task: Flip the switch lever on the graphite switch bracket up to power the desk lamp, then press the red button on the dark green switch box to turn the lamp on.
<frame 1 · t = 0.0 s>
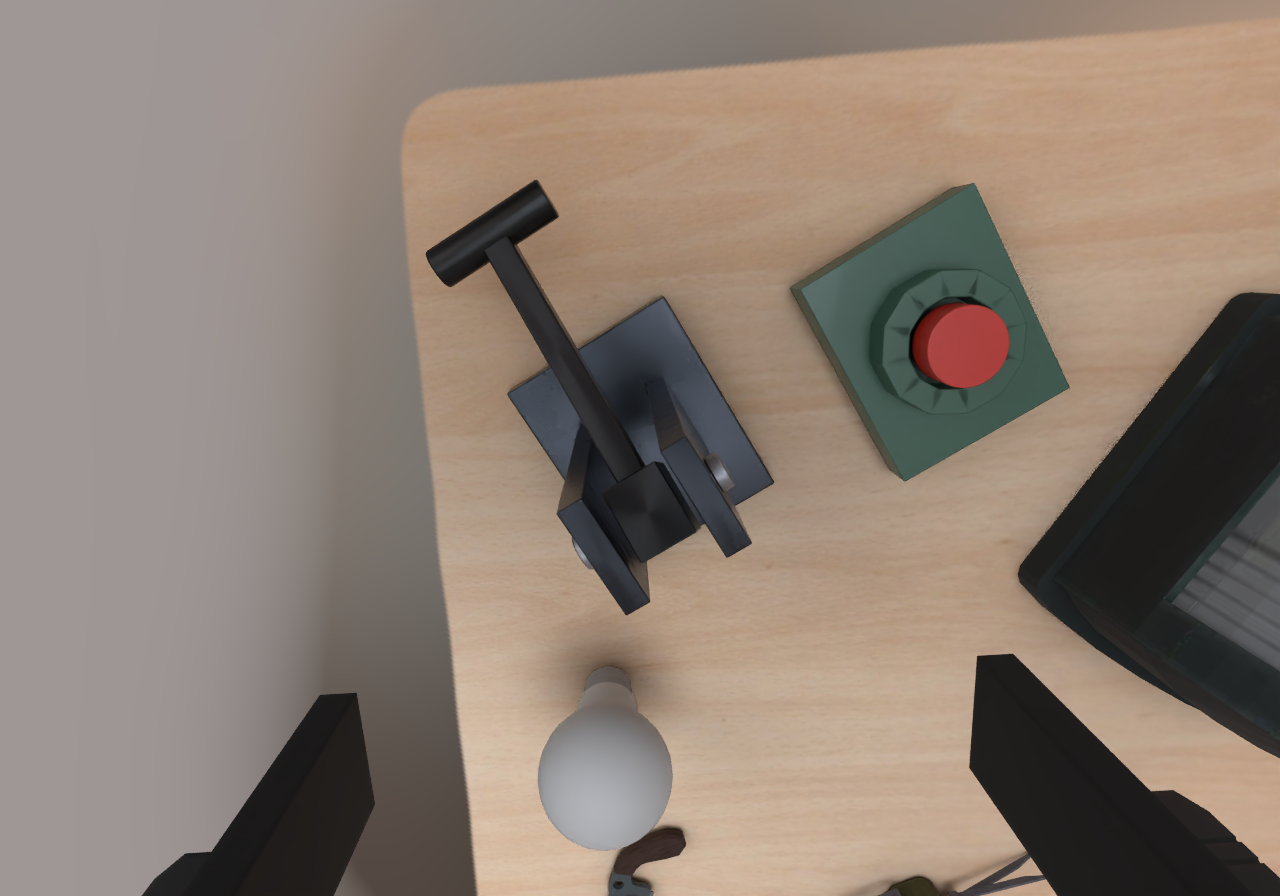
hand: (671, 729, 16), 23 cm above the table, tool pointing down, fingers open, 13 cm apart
switch lever: (574, 376, 27), point 10 cm above the table, hinge at -20.0°
switch bracket: (642, 434, 38), on the table
lightbulb: (608, 676, 41), on the table
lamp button: (959, 345, 33), point 4 cm above the table, slide at 0.1 cm
light fixture: (1235, 516, 40), on the table
button box: (919, 335, 37), on the table
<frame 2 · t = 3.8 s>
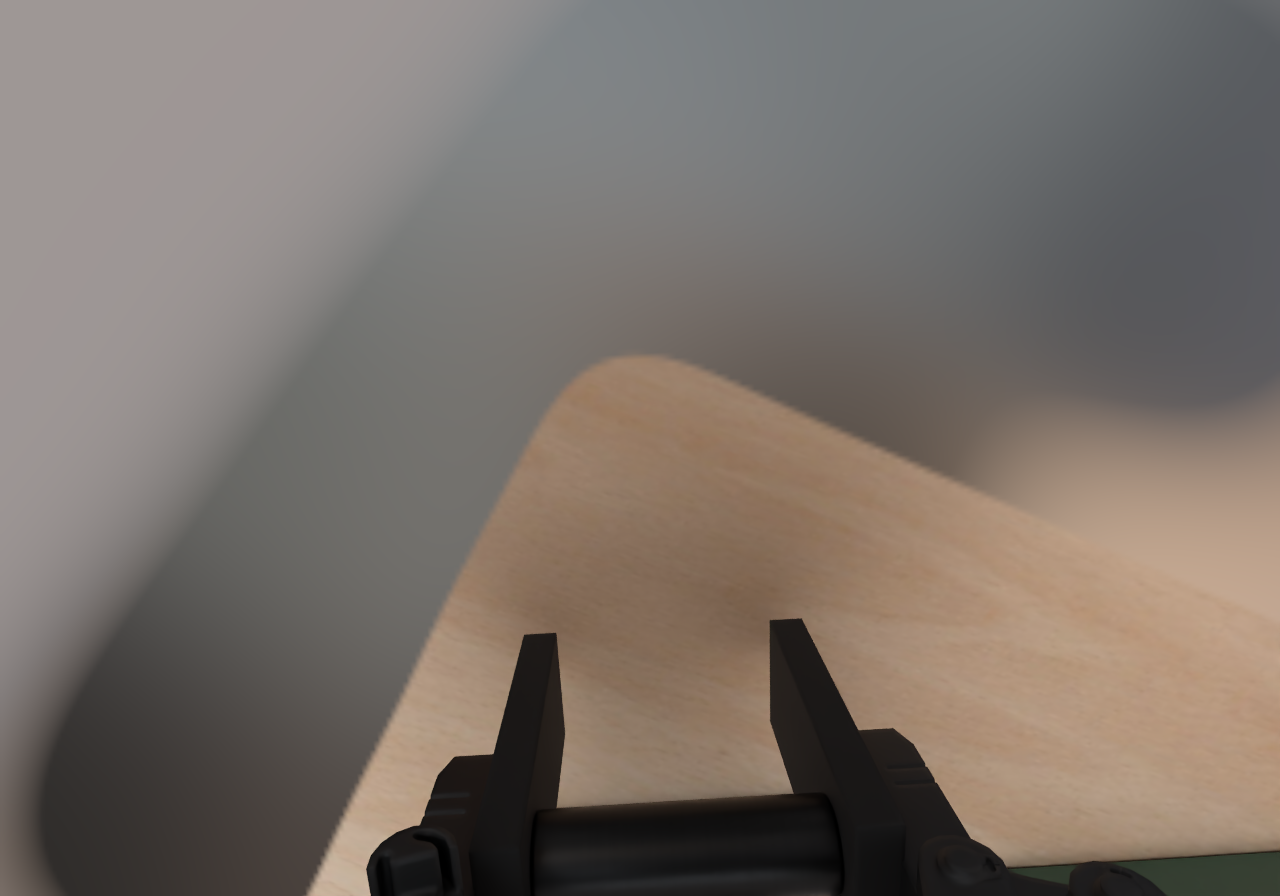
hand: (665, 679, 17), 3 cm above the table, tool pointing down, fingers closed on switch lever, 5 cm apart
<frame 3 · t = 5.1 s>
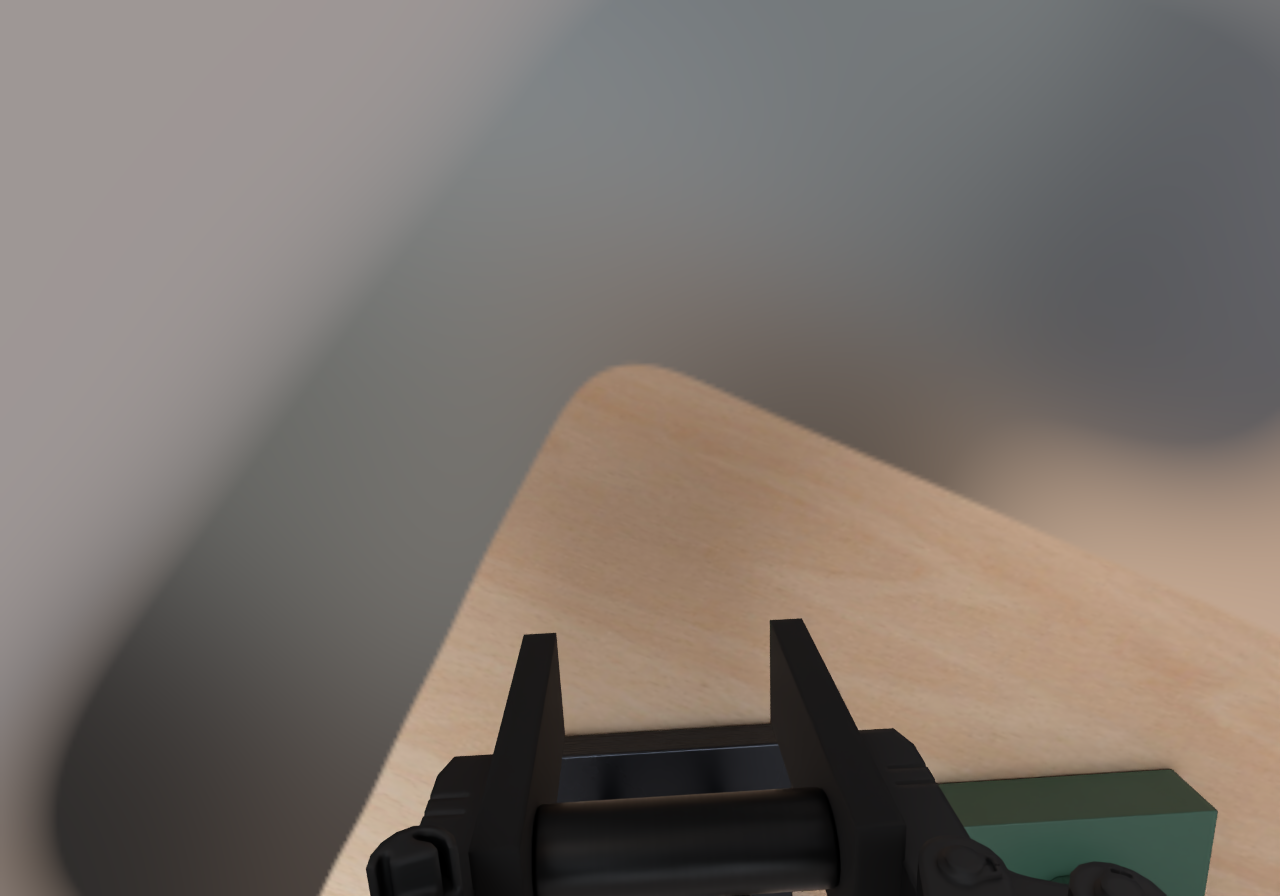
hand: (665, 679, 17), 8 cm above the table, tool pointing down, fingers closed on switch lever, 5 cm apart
switch bracket: (666, 857, 28), on the table
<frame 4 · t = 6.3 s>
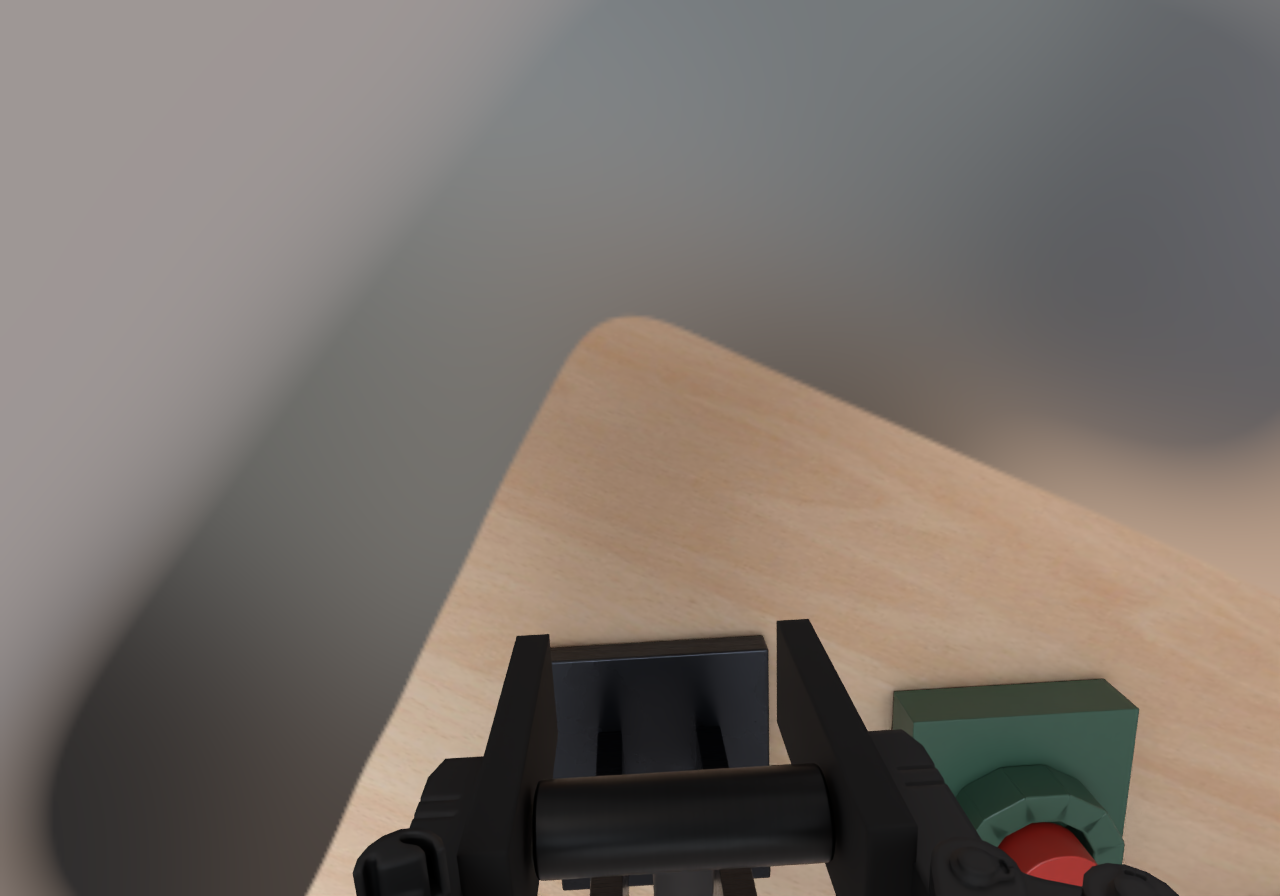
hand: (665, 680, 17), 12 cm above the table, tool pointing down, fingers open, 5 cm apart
switch bracket: (659, 756, 31), on the table
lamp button: (1047, 877, 28), point 4 cm above the table, slide at 0.1 cm
button box: (990, 795, 32), on the table
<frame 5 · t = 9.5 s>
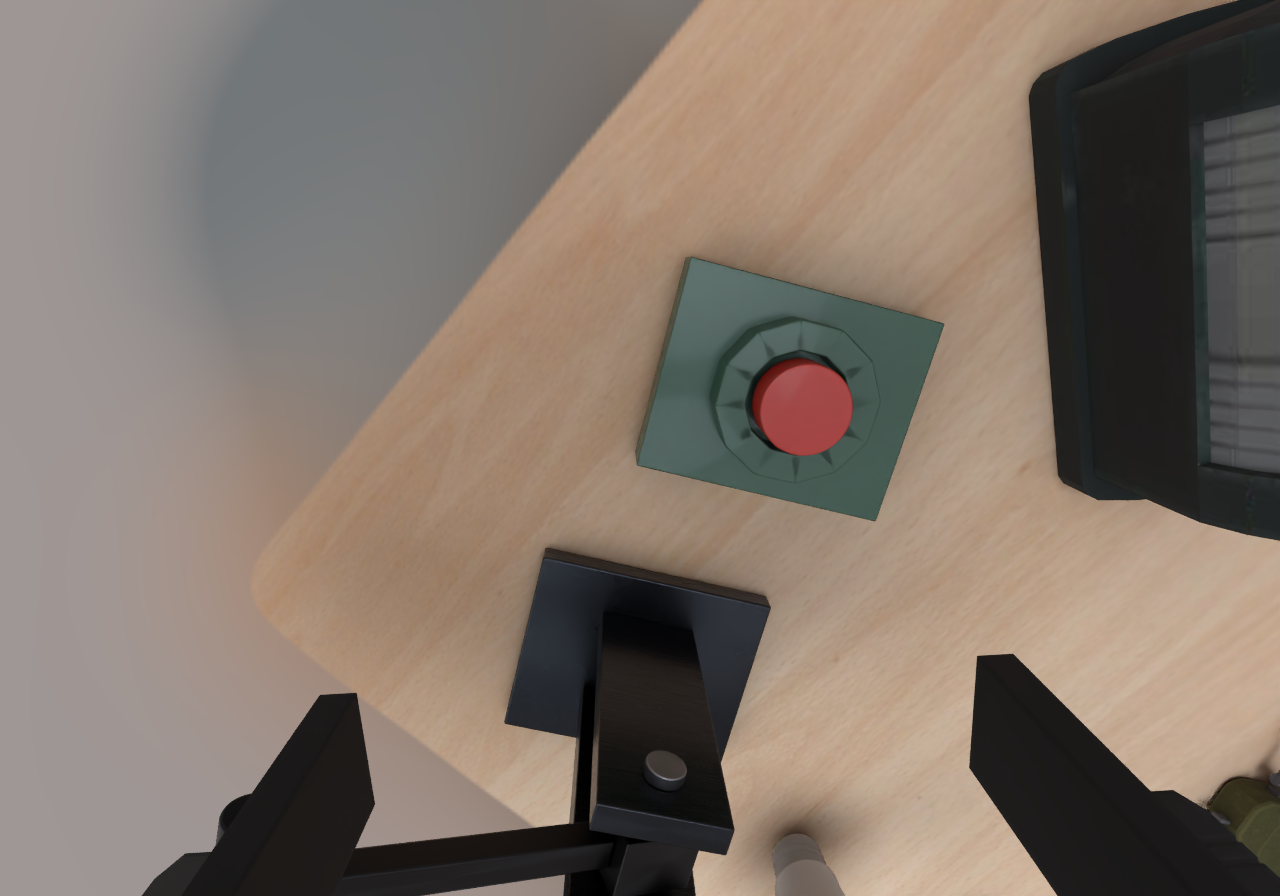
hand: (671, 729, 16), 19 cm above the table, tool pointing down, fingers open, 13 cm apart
switch lever: (477, 860, 22), point 14 cm above the table, hinge at 21.8°
switch bracket: (634, 653, 36), on the table
lightbulb: (791, 839, 40), on the table
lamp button: (801, 406, 29), point 4 cm above the table, slide at 0.1 cm
light fixture: (1229, 255, 33), on the table
button box: (777, 387, 33), on the table
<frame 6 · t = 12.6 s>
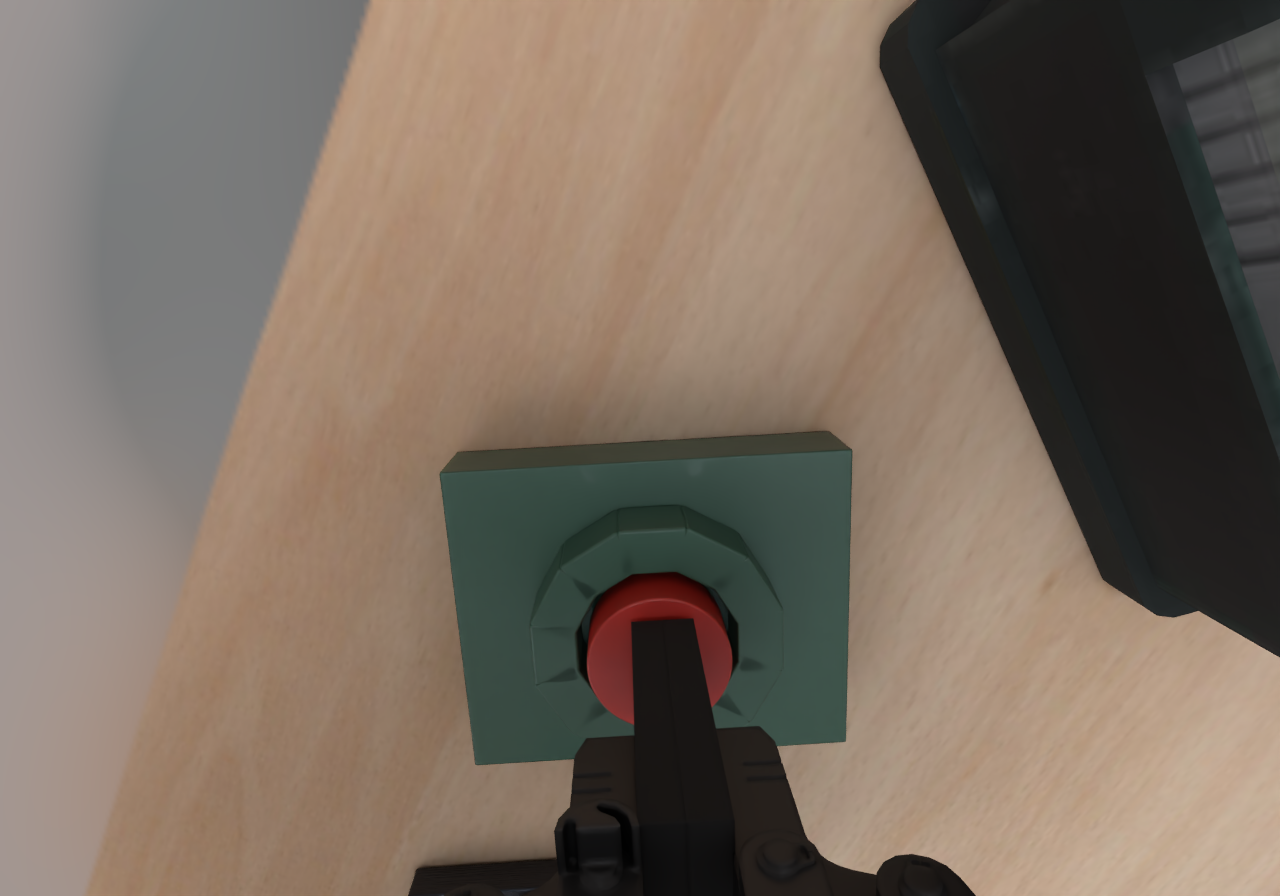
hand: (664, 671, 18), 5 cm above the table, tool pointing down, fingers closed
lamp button: (658, 647, 19), point 4 cm above the table, slide at -0.4 cm, touching gripper
light fixture: (1273, 196, 21), on the table
button box: (651, 582, 23), on the table
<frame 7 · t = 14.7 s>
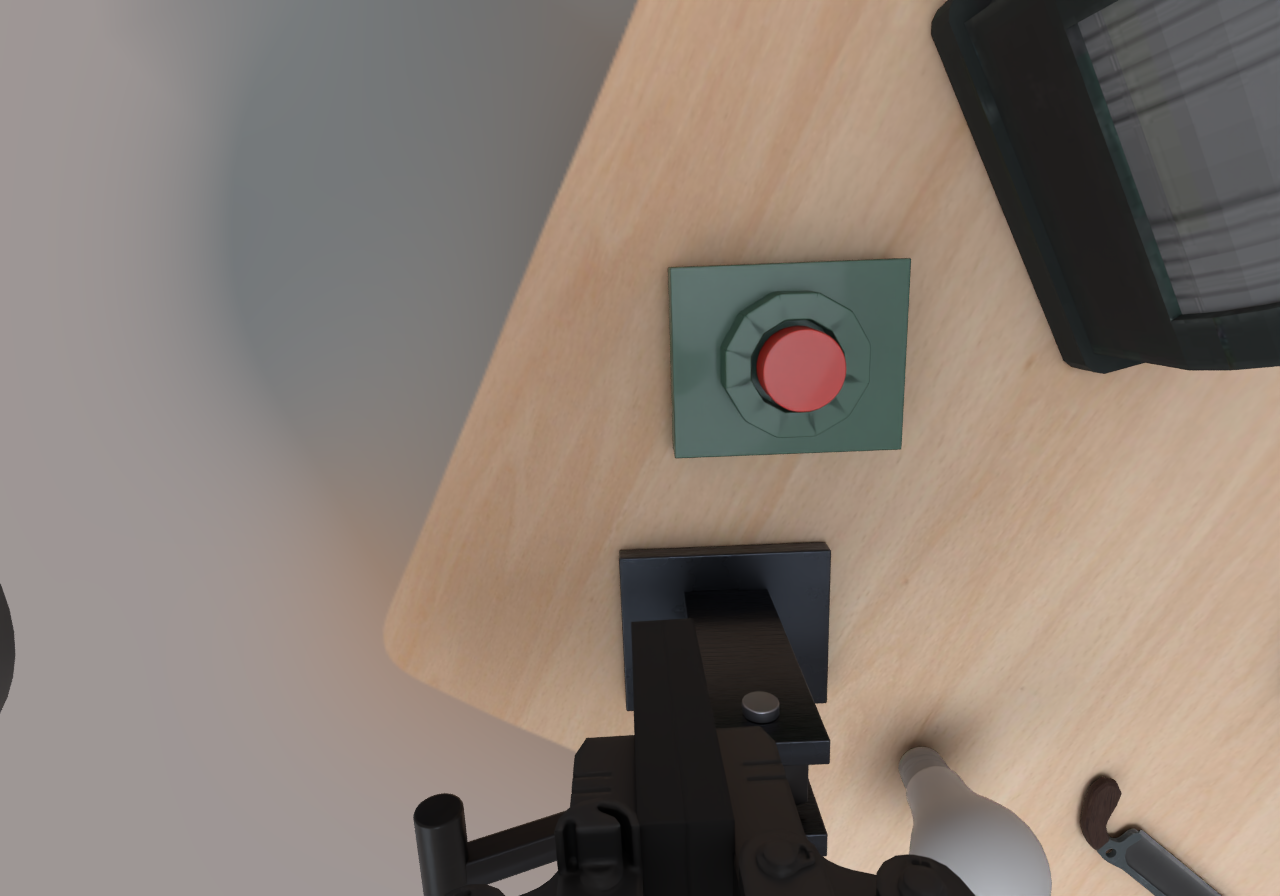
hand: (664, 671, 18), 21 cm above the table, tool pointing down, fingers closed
switch lever: (624, 814, 27), point 14 cm above the table, hinge at 21.8°
switch bracket: (723, 622, 40), on the table
lightbulb: (913, 754, 43), on the table
knife: (1153, 853, 44), on the table
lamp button: (800, 368, 32), point 4 cm above the table, slide at 0.1 cm
light fixture: (1167, 115, 34), on the table
button box: (780, 355, 37), on the table
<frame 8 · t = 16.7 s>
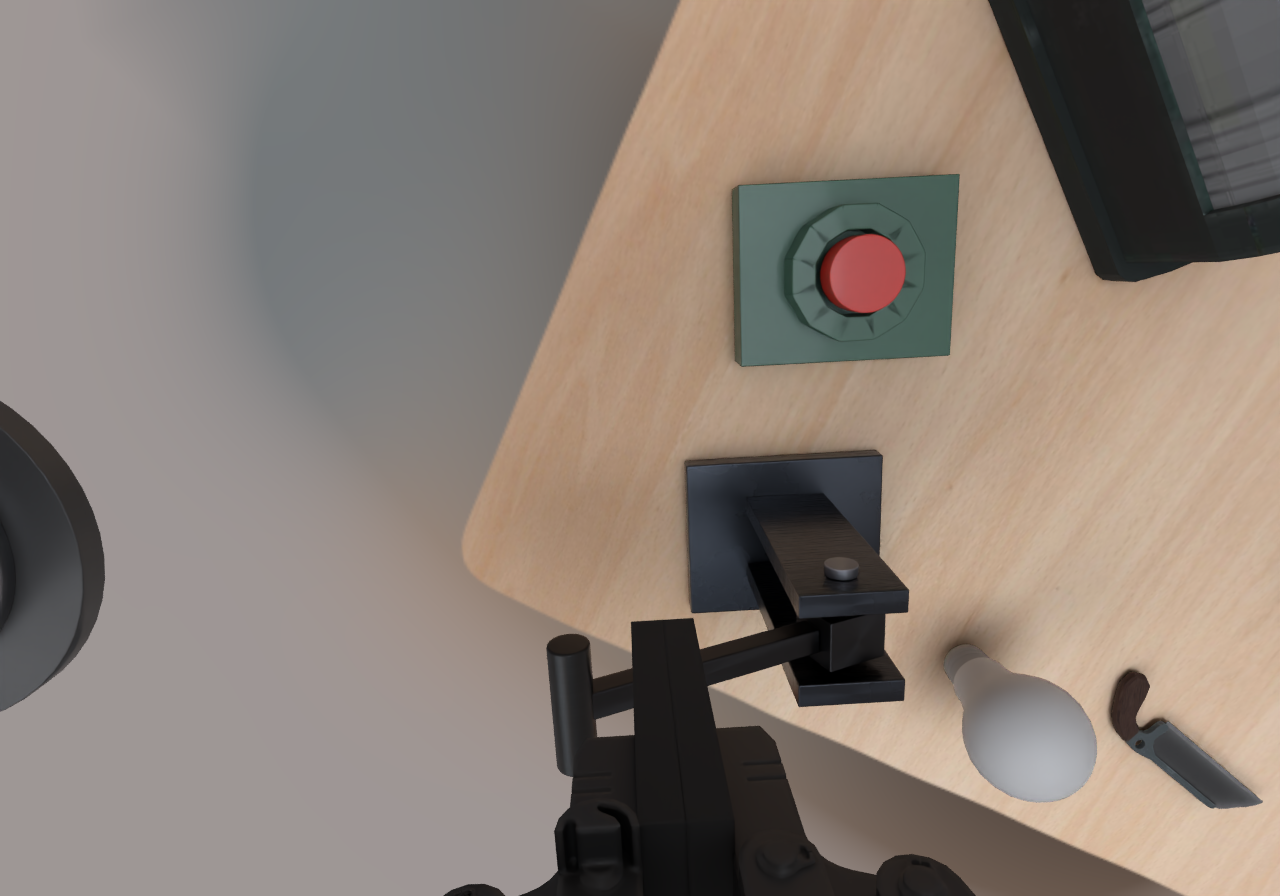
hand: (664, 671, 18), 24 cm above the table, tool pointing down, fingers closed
switch lever: (723, 661, 29), point 14 cm above the table, hinge at 21.8°
switch bracket: (780, 529, 43), on the table
lightbulb: (956, 654, 46), on the table
knife: (1178, 746, 47), on the table
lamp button: (861, 273, 35), point 4 cm above the table, slide at 0.1 cm
light fixture: (1190, 41, 37), on the table
button box: (835, 272, 39), on the table
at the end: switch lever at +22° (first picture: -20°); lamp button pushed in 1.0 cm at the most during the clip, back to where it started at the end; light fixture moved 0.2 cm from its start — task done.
